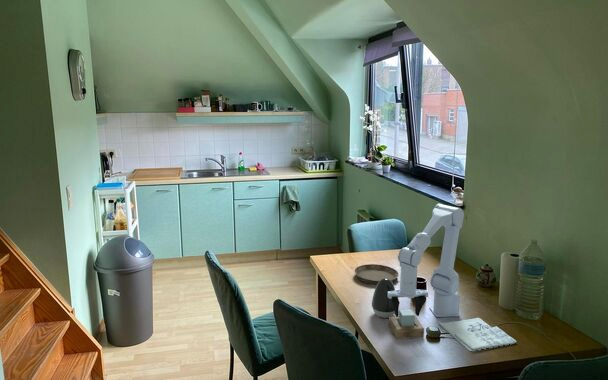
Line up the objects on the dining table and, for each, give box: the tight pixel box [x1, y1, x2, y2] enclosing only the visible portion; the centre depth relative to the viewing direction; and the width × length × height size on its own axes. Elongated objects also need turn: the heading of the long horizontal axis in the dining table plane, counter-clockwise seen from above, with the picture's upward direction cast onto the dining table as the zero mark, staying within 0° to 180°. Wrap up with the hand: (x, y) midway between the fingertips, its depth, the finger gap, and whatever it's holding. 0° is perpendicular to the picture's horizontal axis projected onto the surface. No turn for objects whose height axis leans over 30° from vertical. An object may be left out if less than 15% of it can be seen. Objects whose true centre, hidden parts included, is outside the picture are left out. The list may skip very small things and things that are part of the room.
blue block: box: [398, 309, 416, 327], centre depth 167 cm, size 4×4×5 cm
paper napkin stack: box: [438, 317, 517, 352], centre depth 166 cm, size 19×20×2 cm
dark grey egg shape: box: [371, 278, 396, 319], centre depth 179 cm, size 10×10×15 cm
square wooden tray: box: [388, 315, 425, 339], centre depth 168 cm, size 10×10×4 cm
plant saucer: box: [354, 263, 399, 286], centre depth 217 cm, size 21×21×3 cm
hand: (406, 315), depth 167 cm, fingers open, 7 cm apart
